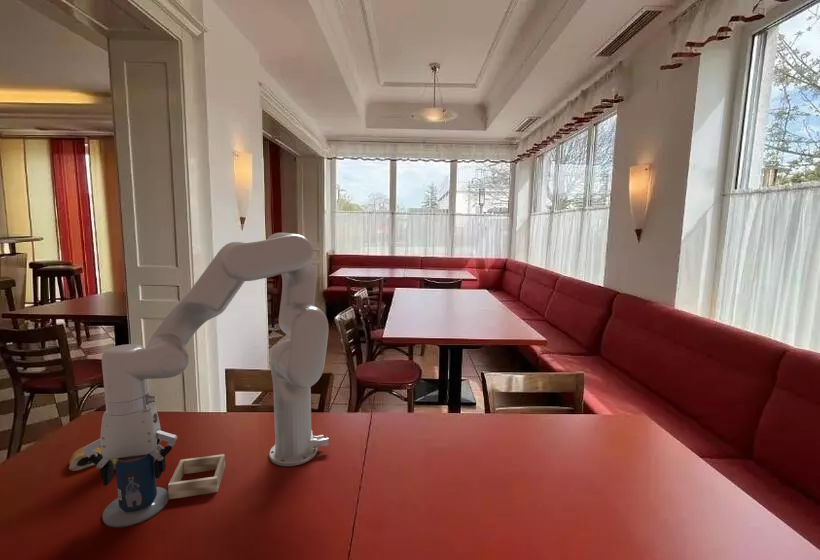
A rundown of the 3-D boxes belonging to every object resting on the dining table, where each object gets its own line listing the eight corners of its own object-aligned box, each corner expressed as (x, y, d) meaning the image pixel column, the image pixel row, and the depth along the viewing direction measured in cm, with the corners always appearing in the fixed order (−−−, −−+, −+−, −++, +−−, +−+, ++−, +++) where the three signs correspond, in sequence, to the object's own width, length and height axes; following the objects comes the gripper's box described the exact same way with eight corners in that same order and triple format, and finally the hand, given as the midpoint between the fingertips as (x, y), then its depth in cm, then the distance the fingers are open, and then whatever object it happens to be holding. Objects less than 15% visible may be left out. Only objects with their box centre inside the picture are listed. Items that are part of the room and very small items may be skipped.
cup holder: (225, 466, 102) (224, 454, 101) (217, 492, 92) (216, 478, 92) (181, 472, 99) (180, 459, 98) (168, 499, 89) (167, 485, 89)
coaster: (175, 485, 94) (175, 483, 94) (158, 521, 83) (158, 518, 83) (117, 493, 91) (117, 491, 91) (91, 532, 79) (90, 529, 79)
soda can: (149, 489, 92) (145, 441, 90) (163, 501, 88) (159, 451, 86) (114, 506, 86) (109, 454, 84) (126, 520, 82) (121, 466, 80)
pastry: (72, 456, 106) (71, 442, 105) (104, 448, 110) (103, 435, 109) (68, 474, 98) (67, 459, 98) (103, 465, 102) (102, 451, 102)
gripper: (179, 392, 89) (183, 462, 92) (89, 400, 85) (96, 473, 87) (168, 406, 82) (174, 482, 85) (69, 416, 78) (78, 496, 80)
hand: (134, 477), depth 86 cm, fingers open, 9 cm apart
